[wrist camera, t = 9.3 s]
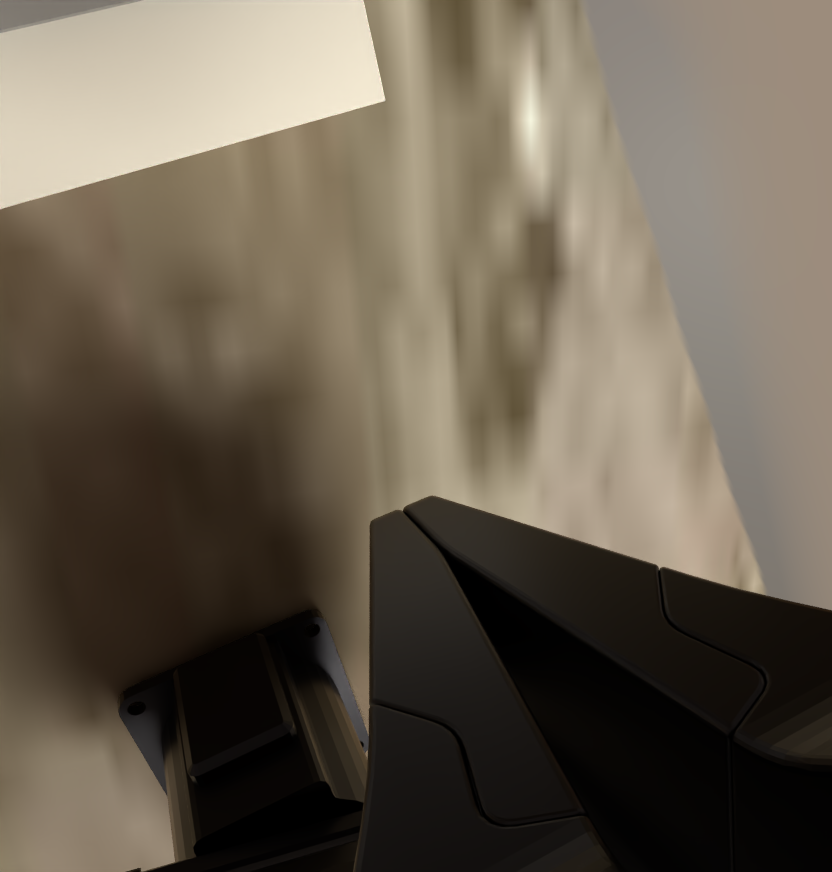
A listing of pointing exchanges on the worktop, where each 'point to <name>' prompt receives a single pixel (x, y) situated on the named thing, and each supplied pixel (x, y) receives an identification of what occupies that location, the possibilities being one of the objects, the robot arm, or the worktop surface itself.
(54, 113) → the slot board
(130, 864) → the worktop surface
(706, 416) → the worktop surface
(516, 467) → the worktop surface
